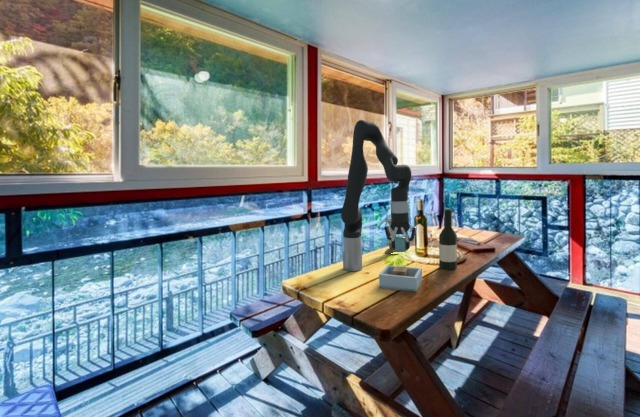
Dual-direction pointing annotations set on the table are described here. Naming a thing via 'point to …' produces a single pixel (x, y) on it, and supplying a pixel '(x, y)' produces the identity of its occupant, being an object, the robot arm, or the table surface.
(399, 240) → the teal glossy cylinder
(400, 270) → the walnut block
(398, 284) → the blue-grey tote
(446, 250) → the wine bottle
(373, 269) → the table surface
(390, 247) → the candle holder
